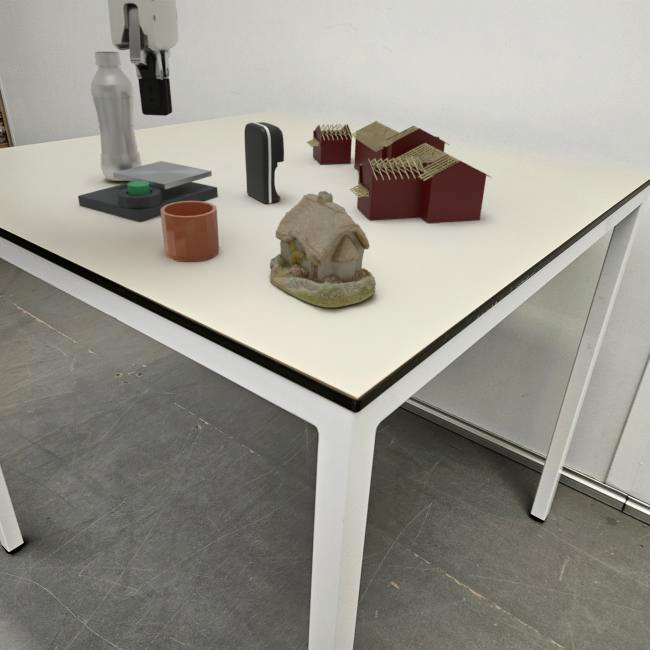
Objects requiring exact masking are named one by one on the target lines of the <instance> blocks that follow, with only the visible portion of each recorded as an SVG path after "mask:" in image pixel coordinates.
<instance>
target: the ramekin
mask: <svg viewBox="0 0 650 650" xmlns="http://www.w3.org/2000/svg"><path fill="white" fill-rule="evenodd" d="M160 219H161V229H162V238H163V247H164V248H163V249H164V253H165V256H166V257H167V258H169V259H171V260H173V261H176V262H184V263H185V262H186V263H191V262H195V263H196V262H202V261H206V260H209V259H212V258H215V257H216V256H218V255H219V253H220V239H219V223H218V222H219V221H218V209H217V205H215V204H213V203H211V202H206V201H181V202H174V203H171V204H167V205H165V206H163V207H162V208H161V216H160Z"/></svg>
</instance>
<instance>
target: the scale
mask: <svg viewBox="0 0 650 650" xmlns="http://www.w3.org/2000/svg"><path fill="white" fill-rule="evenodd" d="M128 183H130V181H128V182H126V183H125V182H124V183H121V184H118V185H114V186H110V187H107V188H102V189H99V190H95V191H91V192H86V193H83V194H80V195H77V198H78V204H79V207H83V208H85V209H90V210H94V211H97V212H101V213H104V214H108V215H112V216H116V217H118V218H119V217H120V218H124V219H127V220H130V221H134V222H138V223H142V222H146V221H149V220H151V219H155V218H158V217H161V208H162V207H163V206H165V205H167V204H171V203H174V202H181V201H203V202H206V201H210V200H212V199H216V198H218V196H219V193H218V186H213V185H208V184H204V183H199V182H196V181H193V182H189V183H186V184H182V185H179V186H175V187H172V188H168V189H161V188H156V187H152V186H150V194H147V195H139V196H137V195H129V193H128V186H127V184H128Z"/></svg>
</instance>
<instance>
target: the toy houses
mask: <svg viewBox="0 0 650 650" xmlns="http://www.w3.org/2000/svg"><path fill="white" fill-rule="evenodd" d="M353 138H355V143H354V144H355V145H354V161H353V162H354V164H353V168H354V169H355V170H357V171H358V179H357V180H358V182H357V185H355V186H353V187H350V188H349V191H351V192H352V193H353V194H354V196H356V197H357V201H356V202H357V203H356V208H357V210H359V212H360V213H362V215H364V217H366V218H367V219H368V220H369V221H378V220H397V219H412V218H413V219H414V218H415V219H416V218H420V219H422V220H423V221H424V222H426V224H431V223H432V224H433V223H449V222H451V223H452V222H464V221H465V222H466V221H480V220H481V214H482V207H483V201H484V195H485V188H486V182H487V177H488V178H489V179H492V177H493V176H491V175H489V174H488V173H485V172H484V171H481V170H480V169H477V168H475V167H474V166H471V165H470V164H468V163H466V162H465V161H462V160H460V159H458V158H456V157H454V156H452V155H451V154H448V153H447V152H445V145H447V146H450V143H448V142H446V141H445V140H442V139H441V138H440V137H439V136H437V135H436V136H435V135H434V134H431V133H429V132H427V131H426V130H424V129H422V128H420V127H418V126H416V125H412V126H410V127H408V128H406V129H404V130H402V131H399V132H398V131H397V130H396V129H393V128H391V127H389V126H387V125H385V124H383V123H382V122H379V121H377V120H375V121H374V122H371V123H369V124H367V125H365V126H364V127H362V128H359V129H357V130H355V132H353V133H352V132H351V129H350V126H349V124H348V123H344V124H342V123H339V124H337V123H336V124H335V125H334V124H331V125H330V124H322V126H320V124H318V125H317V126H316V127H315V129H313V131H312V138H311V139H310V140H308V141H306V144H308V145H309V146H310V147H311V148H312V158H313V159H314V160H315V161H316V162H318V164H320V165H338V164H339V165H343V164H352V163H351V162H352V145H353V144H352V142H353V141H352V140H353Z"/></svg>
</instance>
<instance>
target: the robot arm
mask: <svg viewBox="0 0 650 650" xmlns="http://www.w3.org/2000/svg"><path fill="white" fill-rule="evenodd" d="M176 1H177V0H107V7H108V15H109V16H108V17H109V26H110V27H109V28H110V37H111V38H110V39H111V44H112V45H113V46H114V48H115V49H116V50H118V51H126V50H129V61H130V63H131V64H133V65H134V66H135V73H136V77H137V80H138V89H139V98H140V105H141V106H140V107H141V113H142V114H143V115H145V116H164V117H165V116H168V115H170V114H172V113H173V103H172V93H171V82H170V81H171V80H170V60H169V58H170V57H171V49H173V48H174V47H175V46H176V45H177V44H178V43H179V24H178V23H179V21H178V10H177V2H176Z"/></svg>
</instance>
